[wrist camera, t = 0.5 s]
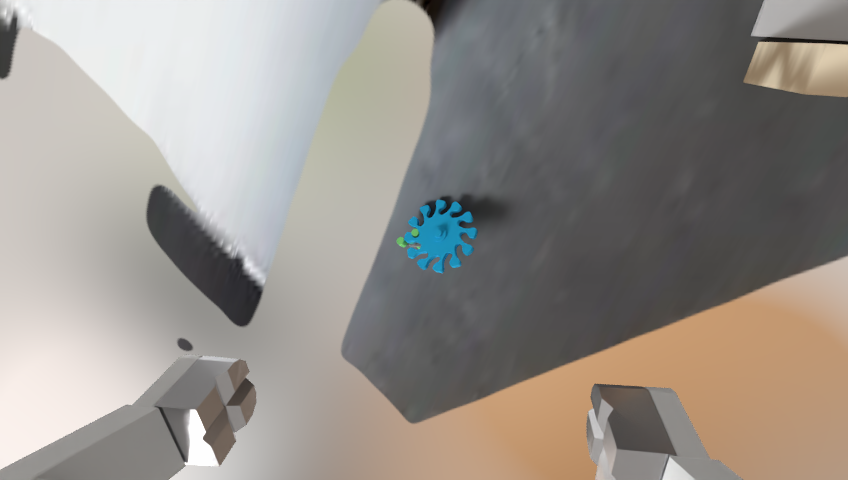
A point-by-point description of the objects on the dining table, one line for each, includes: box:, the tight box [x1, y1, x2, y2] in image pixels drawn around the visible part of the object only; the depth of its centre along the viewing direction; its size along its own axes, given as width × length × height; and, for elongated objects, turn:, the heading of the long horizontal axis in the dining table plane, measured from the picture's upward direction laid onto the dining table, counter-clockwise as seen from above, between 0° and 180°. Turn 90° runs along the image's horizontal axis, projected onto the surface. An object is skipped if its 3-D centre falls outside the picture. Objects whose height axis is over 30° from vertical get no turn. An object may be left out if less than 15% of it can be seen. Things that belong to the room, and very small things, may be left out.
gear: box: [397, 200, 478, 273], centre depth 56 cm, size 11×6×10 cm
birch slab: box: [744, 42, 848, 97], centre depth 39 cm, size 4×10×10 cm, turn 87°
